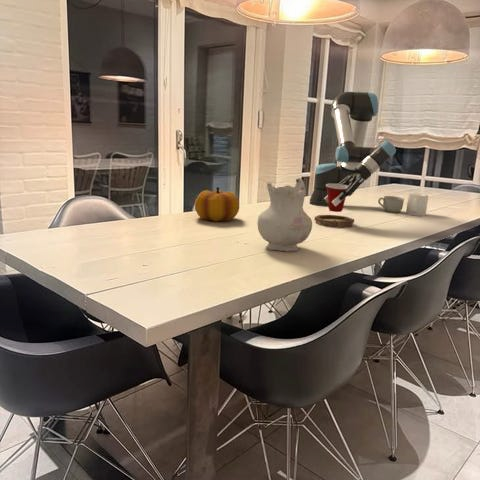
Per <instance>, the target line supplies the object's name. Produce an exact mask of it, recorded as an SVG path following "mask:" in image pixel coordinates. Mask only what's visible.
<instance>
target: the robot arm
mask: <svg viewBox="0 0 480 480" xmlns="http://www.w3.org/2000/svg"><path fill="white" fill-rule="evenodd" d="M378 112H379V100H378V96H377V95H376V93H372V92H368V91H367V92H363V91H361V92H360V91H344V92H342V93H340V94H339V95H337V96H336V97H335V98H334V99H333V100H332V103H331V106H330V114H331V117H332V119H334V126H335V131H336V137H337V143H338V146H336V149H335V154H334V155H335V161H336V162H339V163H340V166H338V165H337V164H336V163H321V164H320V163H319V164H317V165H316V166H315V169H314V180H313V181H314V182H313V191H312V193H311V195H310V198H309V204H310V205H313V206H320V207H329V203H328V192H327V187H326V184H341V185H342V184H343V185H347V186H348V187H347V189H345V190H344V191H343V192H344V193H343V192H342V193H341V194H340V195H339V196H337V197H336V198H335V199H334V200H333V201H332V203H333V204H334V206H335V207H336V206H337V205H338V204H339V203H340V202H341V201H342V200H343V199H345V200H346V199H347V197H351V196H352V195H353V194H354V193H355V192H356V191H357V189H358V188H359V187H360V186H361V185H362V184H363V183H364V182H365V181H367V180H368V179H369V178H370V177H371V176H372V175H373V174H375V172H377V170H379V169H380V167H382V166H383V165H384V164H385V163H386V162H387V161H388V160H390V159H391V158H393V156H394V155H395V154H396V152H397V149H396V147H395V146H394V144H393V143H392V142H391V141H389V140H384V141H383V142H381V143H380V144H379V145H378V146H375V147H368V146H364V145H365V144H364V143H365V139H366V135H367V129H368V125H369V123H371V122H372V120H373V117H376V116H378Z"/></svg>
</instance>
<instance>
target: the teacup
mask: <svg viewBox="0 0 480 480" xmlns="http://www.w3.org/2000/svg"><path fill="white" fill-rule="evenodd" d="M381 200H382V201H383V203H381ZM404 201H405V198H403V197H400V196H396V195H395V196H394V195H385V196H384V197H379V198H378V200H377V203H378V204H379V206H381V207H382V208H383V210H385V212H387V213H393V214H394V213H397V214H398V213H399V212H400V211H402V210H403V208H404V207H403V206H404V203H405V202H404Z"/></svg>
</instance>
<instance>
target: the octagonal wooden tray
mask: <svg viewBox="0 0 480 480" xmlns="http://www.w3.org/2000/svg"><path fill="white" fill-rule="evenodd" d="M314 221H315V224H317V225H318V226H322V227H327V228H336V229H339V228H341V229H343V228H348V229H349V228H353V225H354V223H355V219H354V218H351V217H348V216H344V215H336V214H318V215H315V216H314Z"/></svg>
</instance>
